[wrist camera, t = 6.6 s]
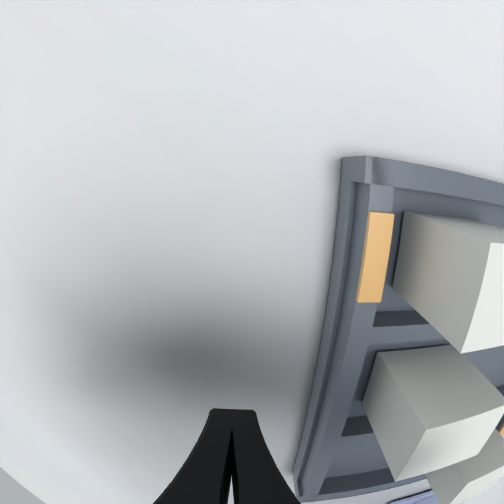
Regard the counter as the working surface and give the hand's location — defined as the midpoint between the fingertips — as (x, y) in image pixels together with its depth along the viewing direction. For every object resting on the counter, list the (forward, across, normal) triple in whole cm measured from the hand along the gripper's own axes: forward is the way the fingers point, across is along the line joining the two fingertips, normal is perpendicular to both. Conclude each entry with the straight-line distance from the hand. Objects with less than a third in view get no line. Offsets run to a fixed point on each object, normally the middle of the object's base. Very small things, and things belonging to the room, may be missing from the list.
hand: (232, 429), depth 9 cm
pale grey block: (+2, -13, +6) cm, 14 cm away
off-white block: (+2, -7, 0) cm, 8 cm away
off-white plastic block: (+2, -8, -5) cm, 10 cm away
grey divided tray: (+4, -10, 0) cm, 11 cm away
